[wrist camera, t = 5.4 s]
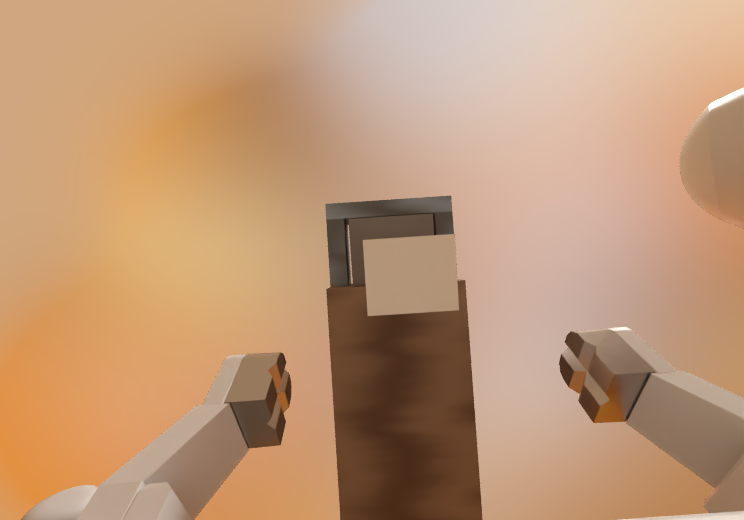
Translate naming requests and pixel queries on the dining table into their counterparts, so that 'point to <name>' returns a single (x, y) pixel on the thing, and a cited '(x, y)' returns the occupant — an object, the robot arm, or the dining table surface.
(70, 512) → the salt shaker
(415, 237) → the cream bar
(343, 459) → the post
